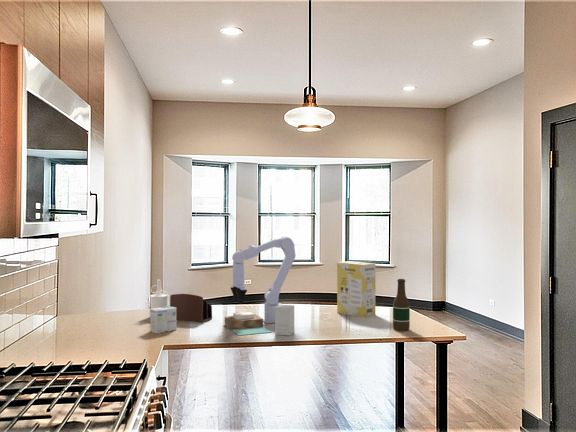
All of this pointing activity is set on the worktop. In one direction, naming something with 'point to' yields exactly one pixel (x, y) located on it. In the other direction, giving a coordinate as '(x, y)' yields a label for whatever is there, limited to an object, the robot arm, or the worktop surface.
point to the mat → (251, 331)
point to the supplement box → (284, 320)
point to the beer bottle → (401, 309)
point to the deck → (243, 322)
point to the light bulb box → (163, 319)
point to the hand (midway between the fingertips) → (238, 302)
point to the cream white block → (243, 315)
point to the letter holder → (191, 308)
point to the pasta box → (356, 288)
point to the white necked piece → (159, 297)
